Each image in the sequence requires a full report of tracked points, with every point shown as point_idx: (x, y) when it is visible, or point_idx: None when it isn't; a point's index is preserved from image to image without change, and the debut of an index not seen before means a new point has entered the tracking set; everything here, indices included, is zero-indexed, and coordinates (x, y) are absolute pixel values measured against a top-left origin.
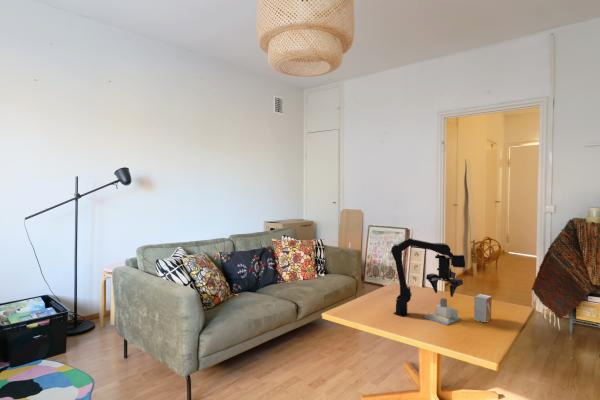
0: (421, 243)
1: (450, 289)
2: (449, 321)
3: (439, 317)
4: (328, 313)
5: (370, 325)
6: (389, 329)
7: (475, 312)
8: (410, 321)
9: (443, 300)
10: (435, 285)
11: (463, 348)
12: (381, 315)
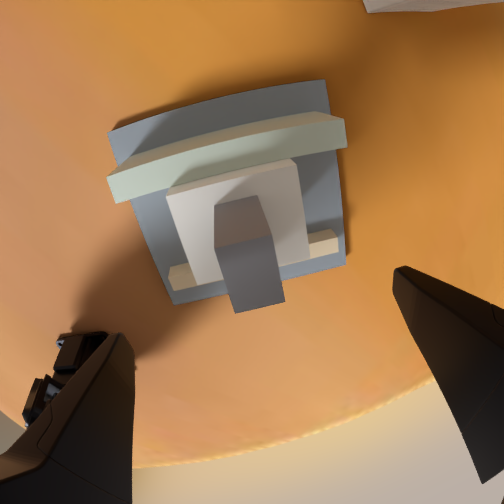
0: None
1: (461, 415)
2: (325, 220)
3: None
4: None
5: (195, 457)
6: (247, 442)
7: (410, 1)
8: (202, 376)
9: (278, 296)
10: (103, 465)
11: None
12: None
